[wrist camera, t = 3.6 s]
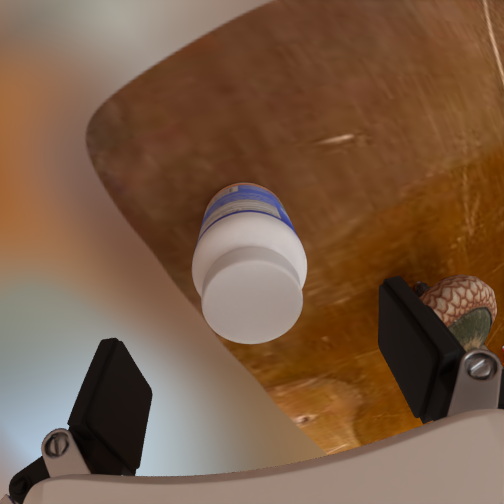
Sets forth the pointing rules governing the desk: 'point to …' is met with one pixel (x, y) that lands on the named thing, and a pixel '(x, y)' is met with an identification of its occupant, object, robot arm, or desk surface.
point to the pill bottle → (249, 265)
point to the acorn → (462, 307)
